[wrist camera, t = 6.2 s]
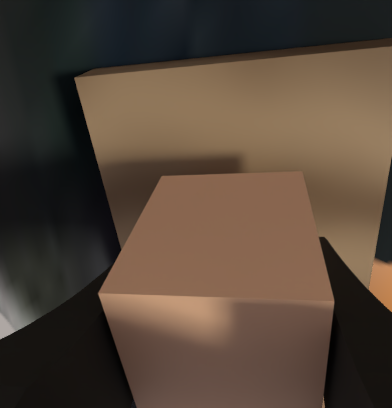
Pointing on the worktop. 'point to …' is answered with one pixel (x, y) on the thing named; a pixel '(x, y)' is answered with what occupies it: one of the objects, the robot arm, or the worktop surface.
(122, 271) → the terracotta block
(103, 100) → the tan board
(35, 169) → the worktop surface
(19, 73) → the worktop surface
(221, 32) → the worktop surface
